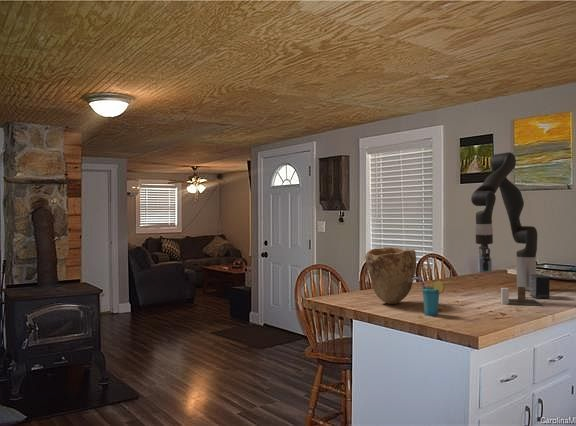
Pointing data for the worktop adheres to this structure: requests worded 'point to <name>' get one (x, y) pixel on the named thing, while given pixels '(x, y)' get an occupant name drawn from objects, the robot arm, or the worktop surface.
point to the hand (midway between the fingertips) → (484, 269)
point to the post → (504, 296)
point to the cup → (431, 297)
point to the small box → (539, 286)
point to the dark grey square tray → (523, 299)
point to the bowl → (391, 272)
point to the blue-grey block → (480, 266)
